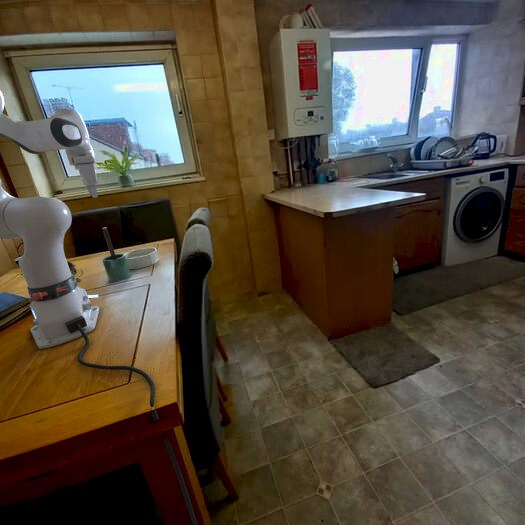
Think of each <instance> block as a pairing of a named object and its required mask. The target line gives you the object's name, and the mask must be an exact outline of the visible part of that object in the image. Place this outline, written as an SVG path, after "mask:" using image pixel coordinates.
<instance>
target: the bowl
mask: <svg viewBox="0 0 525 525" xmlns="http://www.w3.org/2000/svg"><path fill="white" fill-rule="evenodd" d="M123 254H124V255H125V258H126V261H127V264H128V268H129V270H137V269H143V268H147V267H150V266H153V265H155V264H156V263H158V262H159V261H160V256H159V252H158V249H157V248H156V247H151V246H149V247H141V248H137V249H133V250H129V251H126V252H125V253H123Z"/></svg>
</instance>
